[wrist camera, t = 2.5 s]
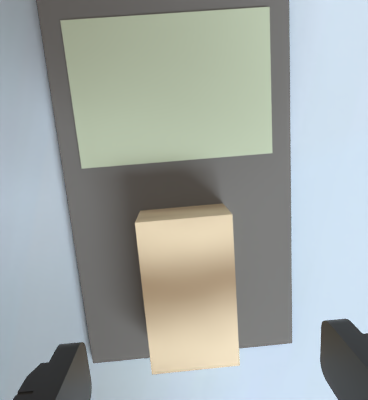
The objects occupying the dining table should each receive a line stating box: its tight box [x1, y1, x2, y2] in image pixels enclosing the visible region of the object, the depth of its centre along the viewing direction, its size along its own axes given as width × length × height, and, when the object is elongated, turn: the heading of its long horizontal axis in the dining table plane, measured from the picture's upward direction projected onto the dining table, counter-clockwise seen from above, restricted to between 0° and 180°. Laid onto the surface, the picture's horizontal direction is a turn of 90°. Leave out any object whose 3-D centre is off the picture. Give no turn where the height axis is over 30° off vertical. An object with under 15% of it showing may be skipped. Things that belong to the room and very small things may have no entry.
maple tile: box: [135, 204, 240, 374], centre depth 16 cm, size 8×4×2 cm, turn 4°
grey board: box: [36, 0, 292, 363], centre depth 16 cm, size 20×12×1 cm, turn 4°
